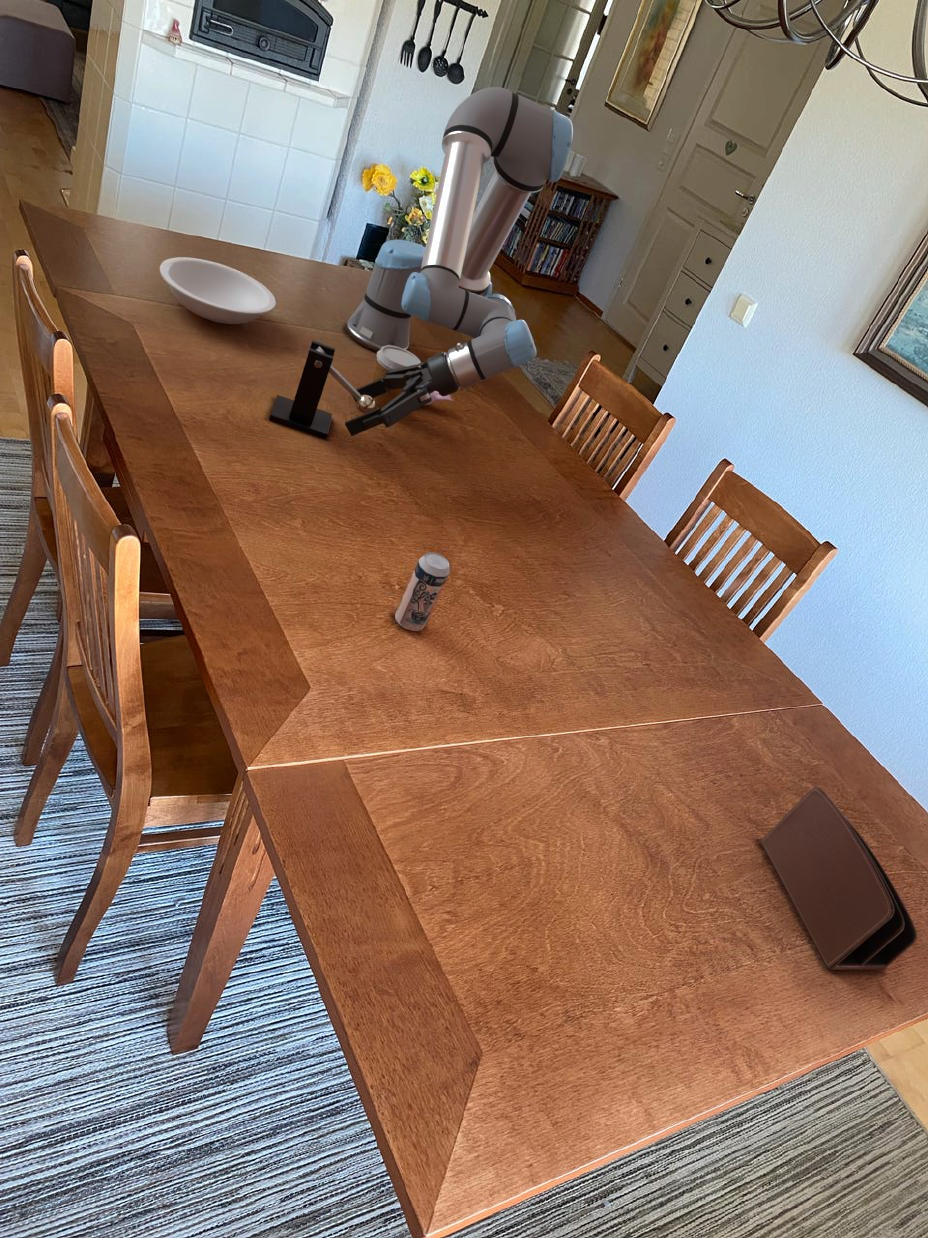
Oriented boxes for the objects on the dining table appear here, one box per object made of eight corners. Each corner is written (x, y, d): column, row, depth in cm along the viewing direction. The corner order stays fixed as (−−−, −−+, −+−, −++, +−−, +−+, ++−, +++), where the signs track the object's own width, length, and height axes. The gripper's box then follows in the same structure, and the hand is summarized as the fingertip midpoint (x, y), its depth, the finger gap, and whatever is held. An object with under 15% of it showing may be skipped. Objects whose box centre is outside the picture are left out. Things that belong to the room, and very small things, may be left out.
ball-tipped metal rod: (366, 412, 177) (379, 401, 176) (364, 421, 175) (378, 409, 173) (308, 354, 170) (322, 342, 169) (306, 362, 167) (320, 349, 166)
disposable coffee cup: (406, 407, 198) (426, 357, 191) (399, 425, 190) (419, 373, 184) (365, 390, 197) (383, 339, 190) (356, 407, 189) (374, 354, 182)
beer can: (401, 633, 137) (429, 571, 131) (389, 612, 140) (416, 550, 133) (428, 632, 140) (457, 571, 133) (416, 612, 143) (444, 551, 136)
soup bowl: (284, 323, 208) (292, 296, 204) (240, 353, 188) (247, 323, 184) (187, 276, 207) (193, 248, 203) (132, 301, 187) (137, 270, 183)
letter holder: (827, 971, 117) (897, 908, 109) (758, 842, 132) (815, 778, 124) (884, 971, 121) (955, 910, 113) (810, 845, 136) (870, 784, 128)
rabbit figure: (388, 409, 197) (454, 413, 203) (393, 384, 194) (460, 388, 199) (382, 395, 202) (446, 398, 207) (386, 370, 198) (452, 374, 203)
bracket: (330, 418, 181) (353, 350, 173) (326, 439, 174) (349, 369, 166) (275, 399, 178) (296, 329, 170) (268, 420, 171) (289, 347, 163)
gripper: (445, 327, 178) (347, 369, 183) (445, 379, 159) (335, 425, 164) (460, 361, 183) (364, 402, 188) (462, 416, 163) (355, 460, 168)
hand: (350, 413), depth 176 cm, fingers open, 13 cm apart
